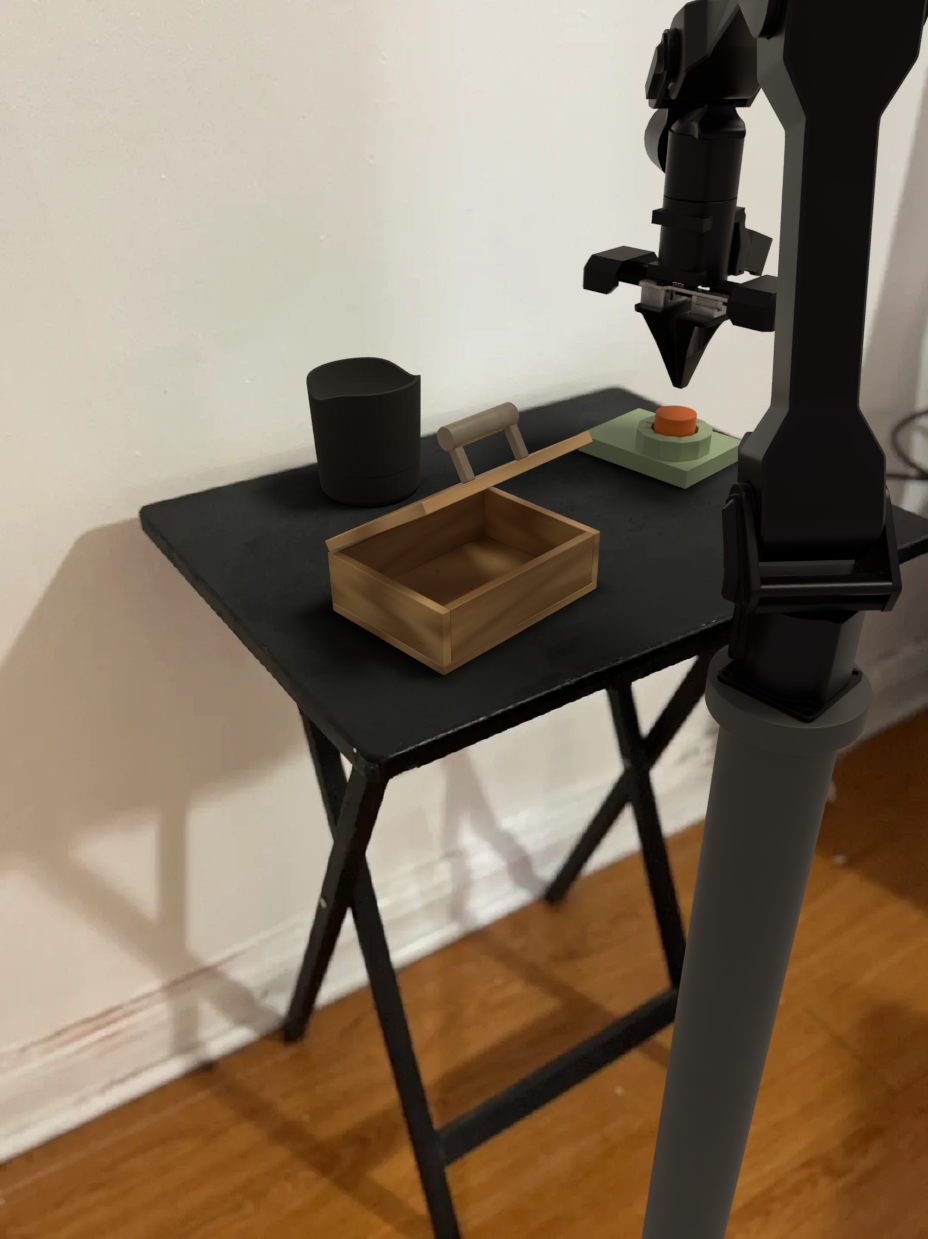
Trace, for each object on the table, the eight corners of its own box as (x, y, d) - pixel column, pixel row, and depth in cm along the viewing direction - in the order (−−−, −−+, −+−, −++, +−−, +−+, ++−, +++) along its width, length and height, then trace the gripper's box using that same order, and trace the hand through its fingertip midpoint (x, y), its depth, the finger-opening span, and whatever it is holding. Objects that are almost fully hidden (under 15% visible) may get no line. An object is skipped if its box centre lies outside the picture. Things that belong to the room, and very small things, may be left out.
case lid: (593, 441, 71) (568, 377, 70) (426, 515, 62) (396, 442, 61) (486, 482, 80) (464, 426, 80) (329, 551, 71) (302, 489, 71)
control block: (742, 458, 95) (748, 422, 93) (685, 489, 90) (689, 451, 88) (637, 424, 103) (640, 390, 101) (578, 450, 97) (579, 415, 95)
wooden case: (596, 588, 76) (600, 531, 74) (443, 676, 67) (442, 614, 64) (485, 537, 83) (485, 483, 80) (332, 610, 74) (327, 552, 71)
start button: (703, 431, 93) (705, 412, 92) (679, 442, 91) (681, 423, 90) (669, 420, 95) (671, 402, 94) (645, 431, 93) (647, 412, 92)
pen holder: (429, 465, 95) (426, 357, 89) (418, 511, 87) (414, 396, 82) (327, 463, 95) (317, 356, 90) (307, 509, 88) (295, 395, 82)
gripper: (861, 196, 81) (826, 389, 89) (664, 168, 92) (649, 342, 100) (785, 219, 74) (754, 425, 83) (583, 186, 86) (574, 370, 94)
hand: (680, 387), depth 90 cm, fingers closed
